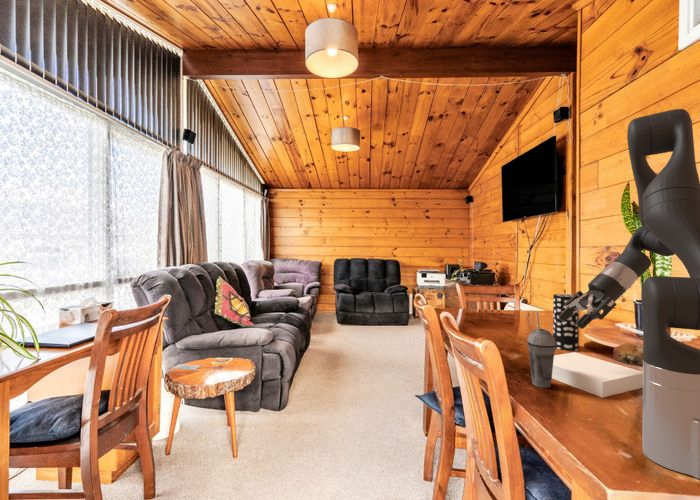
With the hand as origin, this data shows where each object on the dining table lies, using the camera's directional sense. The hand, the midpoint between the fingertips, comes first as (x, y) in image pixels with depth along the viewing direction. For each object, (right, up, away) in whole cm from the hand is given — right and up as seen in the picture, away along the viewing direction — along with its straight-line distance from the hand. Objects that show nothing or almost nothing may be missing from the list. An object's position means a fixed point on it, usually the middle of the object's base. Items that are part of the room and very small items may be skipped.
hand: (569, 322), depth 97 cm
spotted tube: (+21, -17, +36) cm, 45 cm away
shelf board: (+8, -17, +5) cm, 20 cm away
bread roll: (+34, -18, +20) cm, 43 cm away
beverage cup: (-8, -18, +1) cm, 19 cm away
